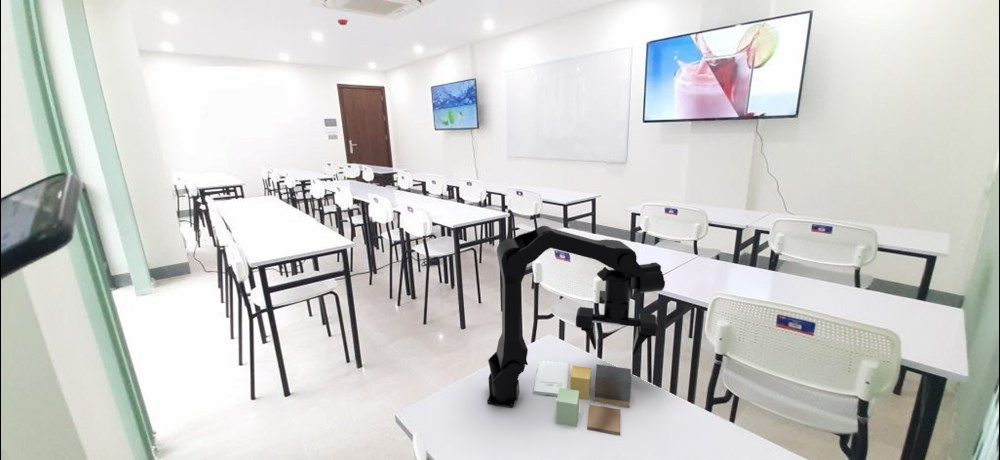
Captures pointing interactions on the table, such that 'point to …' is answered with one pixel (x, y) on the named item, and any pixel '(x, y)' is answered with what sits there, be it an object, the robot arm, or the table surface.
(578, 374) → the ochre part
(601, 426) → the walnut pad
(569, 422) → the green part
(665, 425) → the table surface
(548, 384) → the external hard drive
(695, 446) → the table surface
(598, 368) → the block
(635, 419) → the table surface
